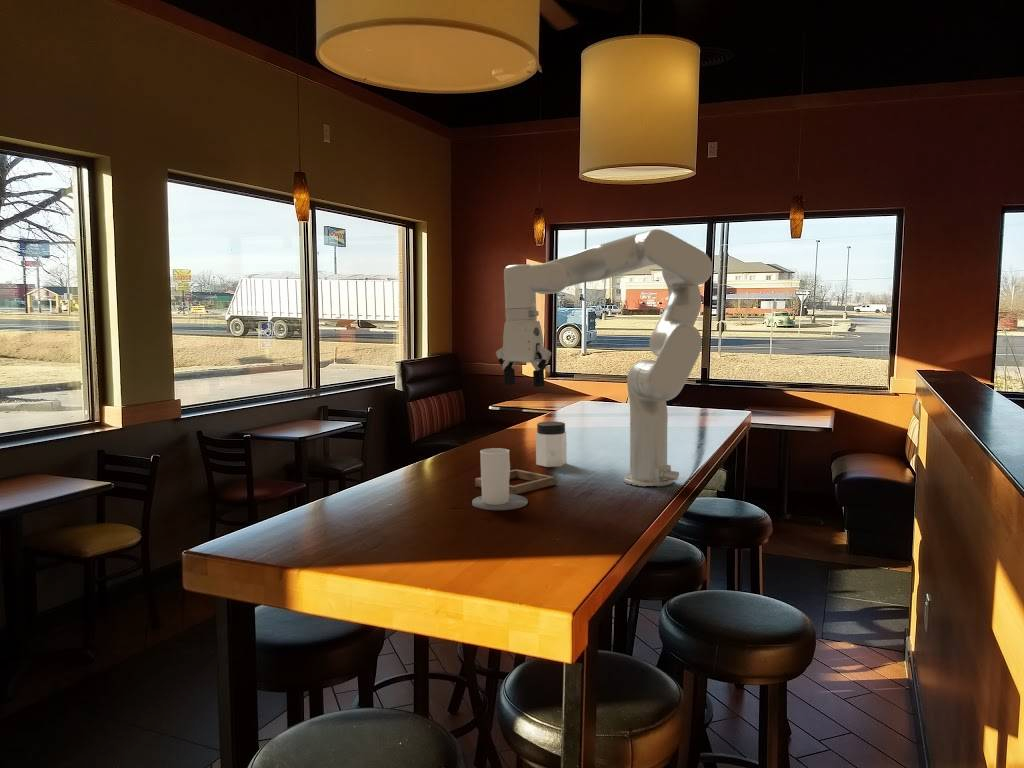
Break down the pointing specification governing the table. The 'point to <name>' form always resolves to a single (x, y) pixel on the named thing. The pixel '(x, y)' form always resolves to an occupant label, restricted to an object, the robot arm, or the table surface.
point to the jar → (551, 444)
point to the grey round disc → (513, 503)
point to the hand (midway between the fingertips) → (524, 385)
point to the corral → (536, 483)
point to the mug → (495, 476)
